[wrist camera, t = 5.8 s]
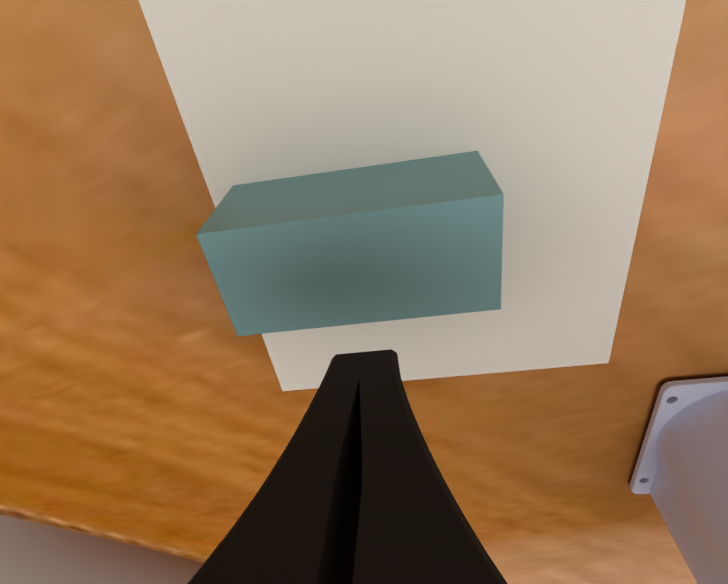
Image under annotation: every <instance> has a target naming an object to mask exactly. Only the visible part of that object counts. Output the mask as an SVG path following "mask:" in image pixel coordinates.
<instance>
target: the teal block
mask: <svg viewBox="0 0 728 584" xmlns="http://www.w3.org/2000/svg"><path fill="white" fill-rule="evenodd" d="M503 205H504V194H503V192H502V190H501V189H500V187H499V186H498V184H497V182H496V181H495V179H494V177H493V176H492V174H491V172H490V171H489V169H488V167H487V166H486V164H485V162H484V161H483V159H482V157H481V156H480V154H479V152H478V151H472V152H464V153H457V154H450V155H443V156H436V157H429V158H422V159H415V160H408V161H401V162H394V163H387V164H380V165H373V166H366V167H359V168H352V169H345V170H338V171H331V172H324V173H317V174H310V175H303V176H296V177H289V178H281V179H274V180H267V181H260V182H253V183H246V184H239V185H233V186H232V187H231V189H230V190H229V191H228V193H227V194H226V195H225V197H224V198H223V199H222V201H221V202H220V203H219V205H218V206H217V207H216V209H215V210H214V211H213V212H212V214H211V215H210V216H209V218H208V219H207V220H206V222H205V223H204V224H203V226H202V227H201V228H200V230H199V231H198V232H197V234H196V235H197V238H198V240H199V243H200V245H201V248H202V250H203V253H204V255H205V257H206V260H207V262H208V265H209V267H210V270H211V272H212V275H213V277H214V279H215V282H216V284H217V287H218V289H219V292H220V294H221V297H222V299H223V301H224V304H225V306H226V309H227V311H228V314H229V316H230V319H231V321H232V323H233V326H234V328H235V331H236V333H237V336H244V335H254V334H264V333H274V332H284V331H293V330H303V329H313V328H323V327H332V326H342V325H352V324H362V323H372V322H381V321H391V320H401V319H411V318H421V317H430V316H440V315H450V314H460V313H470V312H479V311H489V310H499V309H501V284H502V244H503Z"/></svg>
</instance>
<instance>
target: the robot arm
mask: <svg viewBox="0 0 728 584" xmlns="http://www.w3.org/2000/svg"><path fill="white" fill-rule="evenodd" d="M629 486H630V489H631V491H632V492H633V493H635V494H650V495H651V497H652V499H653V501H654V503H655V505H656V507H657V509H658V510H659V512H660V514H661V516H662V518H663V520H664V522H665V524H666V525H667V527H668V529H669V531H670V533H671V535H672V537H673V539H674V540H675V542H676V544H677V546H678V548H679V550H680V552H681V554H682V555H683V557H684V559H685V561H686V563H687V565H688V567H689V569H690V570H691V572H692V574H693V576H694V578H695V580H696V582H697V584H728V376H727V377H714V378H702V379H690V380H677V381H669V382H667V383H665V384H663V385H662V387H661V388H660V391H659V394H658V397H657V400H656V403H655V406H654V410H653V413H652V416H651V419H650V422H649V425H648V428H647V432H646V435H645V438H644V441H643V444H642V447H641V451H640V454H639V457H638V460H637V463H636V466H635V469H634V473H633V476H632V479H631V482H630V485H629ZM187 584H507V582H506V581H505V579H504V578H503V576H502V575H501V573H500V572H499V570H498V569H497V567H496V566H495V564H494V563H493V561H492V560H491V558H490V557H489V555H488V554H487V552H486V551H485V549H484V547H483V546H482V544H481V542H480V541H479V539H478V538H477V536H476V534H475V533H474V531H473V529H472V528H471V526H470V524H469V523H468V521H467V519H466V518H465V516H464V514H463V513H462V511H461V509H460V507H459V506H458V504H457V502H456V500H455V499H454V497H453V495H452V493H451V491H450V490H449V488H448V486H447V484H446V482H445V480H444V478H443V477H442V475H441V473H440V471H439V469H438V467H437V465H436V463H435V461H434V459H433V457H432V455H431V453H430V451H429V449H428V446H427V444H426V442H425V440H424V438H423V436H422V433H421V431H420V429H419V426H418V424H417V421H416V419H415V417H414V414H413V412H412V409H411V407H410V404H409V401H408V399H407V396H406V393H405V390H404V386H403V383H402V380H401V375H400V369H399V362H398V355H397V353H396V352H395V351H393V350H392V349H389V350H378V351H368V352H357V353H346V354H336V355H335V356H334V357H333V358H332V360H331V362H330V364H329V367H328V369H327V371H326V374H325V376H324V378H323V380H322V382H321V384H320V386H319V388H318V390H317V392H316V394H315V396H314V398H313V400H312V402H311V404H310V406H309V408H308V410H307V412H306V413H305V415H304V417H303V419H302V421H301V423H300V424H299V426H298V428H297V430H296V432H295V433H294V435H293V437H292V439H291V440H290V442H289V444H288V445H287V447H286V449H285V450H284V452H283V453H282V455H281V457H280V458H279V460H278V461H277V463H276V465H275V466H274V468H273V469H272V471H271V473H270V474H269V476H268V477H267V479H266V480H265V482H264V483H263V485H262V486H261V488H260V489H259V491H258V492H257V494H256V495H255V497H254V498H253V500H252V501H251V502H250V504H249V505H248V507H247V508H246V509H245V511H244V512H243V514H242V515H241V516H240V518H239V519H238V520H237V522H236V523H235V525H234V526H233V527H232V529H231V530H230V531H229V532H228V534H227V535H226V536H225V538H224V539H223V540H222V541H221V543H220V544H219V545H218V546H217V548H216V549H215V550H214V551H213V553H212V554H211V555H210V557H209V558H208V559H207V560H206V562H205V563H204V564H203V566H202V567H201V568H200V569H199V570H198V571H197V573H196V574H195V575H194V576H193V578H192V579H191V580H190V581H189V582H188V583H187Z"/></svg>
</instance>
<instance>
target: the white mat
mask: <svg viewBox="0 0 728 584" xmlns="http://www.w3.org/2000/svg"><path fill="white" fill-rule="evenodd" d="M139 3H140V5H141V8H142V11H143V14H144V16H145V19H146V22H147V24H148V27H149V30H150V33H151V35H152V38H153V41H154V43H155V46H156V49H157V52H158V54H159V57H160V60H161V62H162V65H163V68H164V71H165V73H166V76H167V79H168V81H169V84H170V87H171V90H172V92H173V95H174V98H175V100H176V103H177V106H178V109H179V111H180V114H181V117H182V119H183V122H184V125H185V128H186V130H187V133H188V136H189V138H190V141H191V144H192V147H193V149H194V152H195V155H196V157H197V160H198V163H199V166H200V168H201V171H202V174H203V176H204V179H205V182H206V185H207V187H208V190H209V193H210V195H211V198H212V201H213V204H214V206H215V209H216V207H217V206H218V205H219V203H220V202H221V201H222V199H223V198H224V197H225V195H226V194H227V193H228V191H229V190H230V189H231V187H232V186H233V185H239V184H246V183H253V182H260V181H267V180H274V179H281V178H289V177H296V176H303V175H310V174H317V173H324V172H331V171H338V170H345V169H352V168H359V167H366V166H373V165H380V164H387V163H394V162H401V161H408V160H415V159H422V158H429V157H436V156H443V155H450V154H457V153H464V152H472V151H478V152H479V154H480V156H481V157H482V159H483V161H484V162H485V164H486V166H487V167H488V169H489V171H490V172H491V174H492V176H493V177H494V179H495V181H496V182H497V184H498V186H499V187H500V189H501V190H502V192H503V194H504V205H503V244H502V284H501V309H499V310H489V311H479V312H470V313H460V314H450V315H440V316H430V317H421V318H411V319H401V320H391V321H381V322H372V323H362V324H352V325H342V326H332V327H323V328H313V329H303V330H293V331H284V332H274V333H264V334H262V337H263V339H264V342H265V345H266V347H267V350H268V353H269V356H270V358H271V361H272V364H273V366H274V369H275V372H276V375H277V377H278V380H279V383H280V385H281V388H282V391H291V390H302V389H314V388H319V386H320V384H321V382H322V380H323V378H324V376H325V374H326V371H327V369H328V367H329V364H330V362H331V360H332V358H333V357H334V356H335V355H336V354H346V353H357V352H368V351H378V350H389V349H392V350H393V351H395V352H396V353H397V355H398V362H399V369H400V375H401V380H402V381H406V380H418V379H429V378H441V377H452V376H464V375H475V374H487V373H499V372H510V371H522V370H533V369H545V368H556V367H568V366H579V365H591V364H602V363H609V358H610V354H611V349H612V344H613V340H614V335H615V330H616V326H617V321H618V316H619V312H620V307H621V302H622V298H623V293H624V288H625V284H626V279H627V274H628V270H629V265H630V260H631V256H632V251H633V246H634V242H635V237H636V232H637V228H638V223H639V218H640V214H641V209H642V204H643V200H644V195H645V190H646V186H647V181H648V176H649V172H650V167H651V162H652V158H653V153H654V148H655V144H656V139H657V134H658V130H659V125H660V120H661V116H662V111H663V106H664V102H665V97H666V92H667V88H668V83H669V78H670V74H671V69H672V64H673V60H674V55H675V50H676V46H677V41H678V36H679V32H680V27H681V22H682V18H683V13H684V8H685V4H686V0H139Z"/></svg>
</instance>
